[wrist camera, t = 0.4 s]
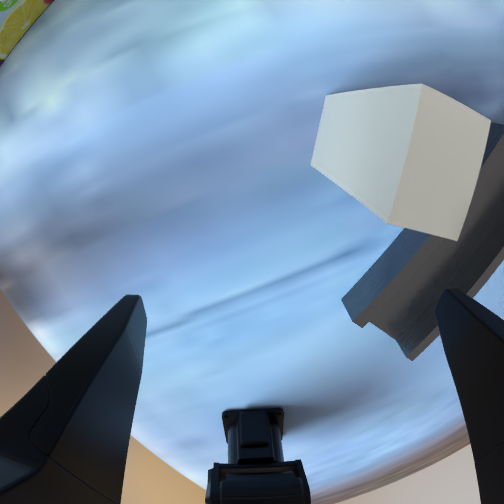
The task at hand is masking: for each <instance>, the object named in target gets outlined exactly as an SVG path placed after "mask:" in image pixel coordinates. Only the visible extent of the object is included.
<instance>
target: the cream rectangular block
mask: <svg viewBox="0 0 504 504" xmlns="http://www.w3.org/2000/svg"><path fill="white" fill-rule="evenodd" d="M490 123H491V120H489V119H487V118H486V117H484V116H483V115H481V114H479V113H477V112H476V111H474V110H472V109H471V108H469V107H467V106H465V105H463V104H462V103H460V102H458V101H456V100H454V99H452V98H450V97H449V96H447V95H445V94H443V93H441V92H439V91H437V90H435V89H433V88H431V87H428V86H426V85H424V84H410V85H398V86H388V87H380V88H371V89H364V90H356V91H349V92H343V93H337V94H331V95H326V98H325V102H324V107H323V111H322V116H321V120H320V125H319V129H318V134H317V138H316V143H315V147H314V151H313V156H312V160H311V164H310V165H311V166H312V167H314V168H315V169H317V170H318V171H319V172H321V173H322V174H323V175H325V176H326V177H328V178H329V179H330V180H332V181H333V182H334V183H336V184H337V185H338V186H340V187H341V188H342V189H344V190H345V191H346V192H348V193H349V194H350V195H352V196H353V197H354V198H355V199H357V200H358V201H359V202H361V203H362V204H363V205H364V206H366V207H367V208H368V209H369V210H371V211H372V212H373V213H374V214H376V215H377V216H378V217H379V218H381V219H382V220H383V221H384V222H386V223H387V224H391V225H395V226H399V227H403V228H408V229H412V230H416V231H420V232H424V233H428V234H432V235H436V236H439V237H443V238H447V239H451V240H455V241H458V238H459V235H460V233H461V230H462V227H463V224H464V221H465V218H466V215H467V212H468V209H469V206H470V203H471V200H472V196H473V193H474V190H475V186H476V183H477V179H478V175H479V172H480V168H481V164H482V160H483V156H484V152H485V147H486V143H487V138H488V133H489V128H490Z"/></svg>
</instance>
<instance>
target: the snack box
mask: <svg viewBox="0 0 504 504" xmlns="http://www.w3.org/2000/svg"><path fill="white" fill-rule="evenodd" d="M53 1H54V0H0V66H1V64H2V63H3V61H4V60H5V59H6V57H7V56H8V54H9V53H10V52H11V50H12V49H13V48H14V46H15V45H16V44H17V43H18V41H19V40H20V39H21V37H22V36H23V35H24V34H25V32H26V31H27V30H28V29H29V28H30V26H31V25H32V24H33V23H34V22H35V21H36V19H37V18H38V17H39V16H40V15H41V14H42V13H43V11H44V10H45V9H46V8H47V7H48V6H49V5H50V4H51V3H52V2H53Z"/></svg>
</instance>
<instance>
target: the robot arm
mask: <svg viewBox="0 0 504 504" xmlns="http://www.w3.org/2000/svg"><path fill="white" fill-rule="evenodd" d="M435 317H436V321H437V324H438V328H439V332H440V335H441V339H442V343H443V347H444V351H445V355H446V358H447V361H448V364H449V367H450V370H451V373H452V377H453V380H454V383H455V386H456V390H457V393H458V396H459V400H460V403H461V407H462V411H463V415H464V418H465V422H466V426H467V430H468V434H469V439H470V443H471V448H472V452H473V457H474V462H475V469H476V474H477V480H478V486H479V492H480V500H481V504H504V320H503V319H501V318H500V317H499V316H497V315H496V314H494V313H493V312H491V311H490V310H489V309H487V308H486V307H484V306H483V305H481V304H480V303H478V302H477V301H475V300H474V299H472V298H471V297H469V296H468V295H466V294H465V293H463V292H462V291H460V290H459V289H457V288H455V287H452V288H445V289H444V290H443V292H442V294H441V296H440V298H439V300H438V302H437V304H436V306H435ZM146 327H147V317H146V313H145V309H144V305H143V301H142V298H141V296H139V295H125V296H124V297H123V298H122V299H121V300H120V301H119V302H118V303H117V304H115V305H114V306H113V307H112V308H111V309H110V310H109V311H108V312H107V313H106V314H105V315H104V316H103V317H102V318H101V319H100V320H99V321H98V322H97V323H96V324H95V325H94V326H93V327H92V328H91V329H90V330H89V331H88V332H87V333H86V334H84V335H83V336H82V337H81V338H80V339H79V340H78V341H77V342H76V343H75V344H74V345H73V346H72V347H71V348H70V349H69V350H68V351H67V352H66V353H65V354H64V355H63V356H62V358H61V359H60V360H59V361H58V362H57V363H56V364H55V365H54V366H53V367H52V368H51V369H50V370H49V371H48V372H47V373H46V376H43V377H42V378H41V379H40V380H39V381H38V382H37V383H36V384H35V385H34V386H33V387H32V388H31V389H30V390H29V391H28V392H27V393H26V394H25V395H24V397H22V398H21V399H20V400H19V401H18V402H17V403H16V404H15V405H14V406H13V407H11V408H10V409H9V410H8V411H7V412H6V413H5V414H4V415H3V416H1V417H0V504H120V502H121V495H122V487H123V479H124V472H125V465H126V458H127V452H128V445H129V439H130V433H131V428H132V422H133V416H134V411H135V406H136V400H137V395H138V390H139V385H140V380H141V375H142V367H143V356H144V346H145V336H146ZM283 419H284V411H283V409H281V408H275V409H262V410H245V411H225V412H223V413H222V420H223V426H224V431H225V436H226V442H227V444H228V464H219V463H214V468H212V469H210V470H208V485H207V491H206V498H205V503H206V504H311V497H310V489H309V485H308V482H307V479H306V475H305V472H304V469H303V465H302V462H301V459H300V460H295V461H286V462H284V457H283V450H282V443H281V440H282V434H283Z"/></svg>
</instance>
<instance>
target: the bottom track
mask: <svg viewBox="0 0 504 504" xmlns="http://www.w3.org/2000/svg"><path fill="white" fill-rule="evenodd" d="M503 260H504V125H502V124H497V123H490V128H489V133H488V138H487V143H486V147H485V152H484V156H483V160H482V164H481V168H480V172H479V175H478V179H477V183H476V186H475V190H474V193H473V196H472V200H471V203H470V206H469V209H468V212H467V215H466V218H465V221H464V224H463V227H462V230H461V233H460V235H459V238H458V241H455V240H451V239H447V238H443V237H439V236H436V235H432V234H428V233H424V232H420V231H416V230H412V229H408V228H405V229H404V230H403V231H402V232H401V233H400V234H399V236H398V237H397V238H396V239H395V240H394V242H393V243H392V244H391V245H390V246H389V247H388V249H387V250H386V251H385V252H384V253H383V254H382V255H381V257H380V258H379V259H378V260H377V261H376V262H375V263H374V265H373V266H372V267H371V268H370V269H369V270H368V271H367V272H366V273H365V275H364V276H363V277H362V278H361V279H360V280H359V281H358V282H357V283H356V284H355V285H354V286H353V288H352V289H351V290H350V291H349V292H348V293H347V294H346V295H345V296H344V297H343V298H342V299H341V300H342V302H343V304H344V306H345V308H346V310H347V312H348V314H349V316H350V318H351V320H352V322H354V323H355V324H357V325H358V326H360V327H361V328H363V327H364V326H365V325H366V324H367V323H368V322H371V323H372V324H374V325H375V326H376V327H378V328H379V329H381V330H382V331H384V332H385V333H387V334H388V335H389V336H391V337H392V338H394V339H395V340H396V341H397V343H398V345H399V346H400V348H401V350H402V351H403V353H404V355H405V356H406V357H407V358H408V359H410V360H411V361H413V360H414V359H415V358H416V357H417V356H418V355H419V354H420V353H421V352H423V351H424V350H425V349H426V348H427V347H428V346H429V345H430V344H431V343H432V342H433V341H434V340H435V339H436V338H437V337H438V336H439V335H440V332H439V328H438V324H437V321H436V317H435V306H436V304H437V302H438V300H439V298H440V296H441V294H442V292H443V290H444V289H445V288H452V287H455V288H457V289H459V290H460V291H462V292H463V293H465V294H466V295H468V296H469V297H471V298H472V299H473V297H474V296H475V295H476V294H477V293H478V291H479V290H480V289H481V288H482V287H483V285H484V284H485V283H486V282H487V280H488V279H489V278H490V277H491V275H492V274H493V273H494V272H495V270H496V269H497V268H498V266H499V265H500V264H501V262H502V261H503Z"/></svg>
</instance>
